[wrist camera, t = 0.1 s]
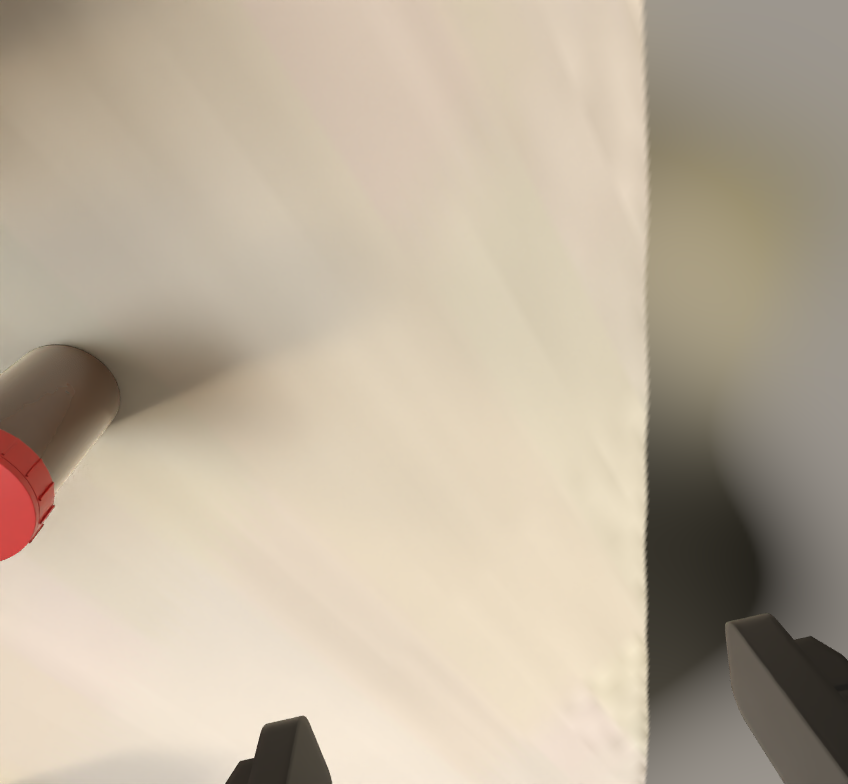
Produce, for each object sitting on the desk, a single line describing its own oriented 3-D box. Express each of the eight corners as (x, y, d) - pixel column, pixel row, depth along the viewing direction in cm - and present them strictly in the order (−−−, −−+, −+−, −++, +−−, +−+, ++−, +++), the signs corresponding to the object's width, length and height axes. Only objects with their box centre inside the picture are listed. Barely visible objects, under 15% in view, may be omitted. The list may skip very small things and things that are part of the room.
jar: (12, 335, 31) (-125, 431, 22) (122, 355, 31) (30, 455, 23) (15, 424, 33) (-108, 542, 24) (118, 441, 34) (33, 560, 25)
